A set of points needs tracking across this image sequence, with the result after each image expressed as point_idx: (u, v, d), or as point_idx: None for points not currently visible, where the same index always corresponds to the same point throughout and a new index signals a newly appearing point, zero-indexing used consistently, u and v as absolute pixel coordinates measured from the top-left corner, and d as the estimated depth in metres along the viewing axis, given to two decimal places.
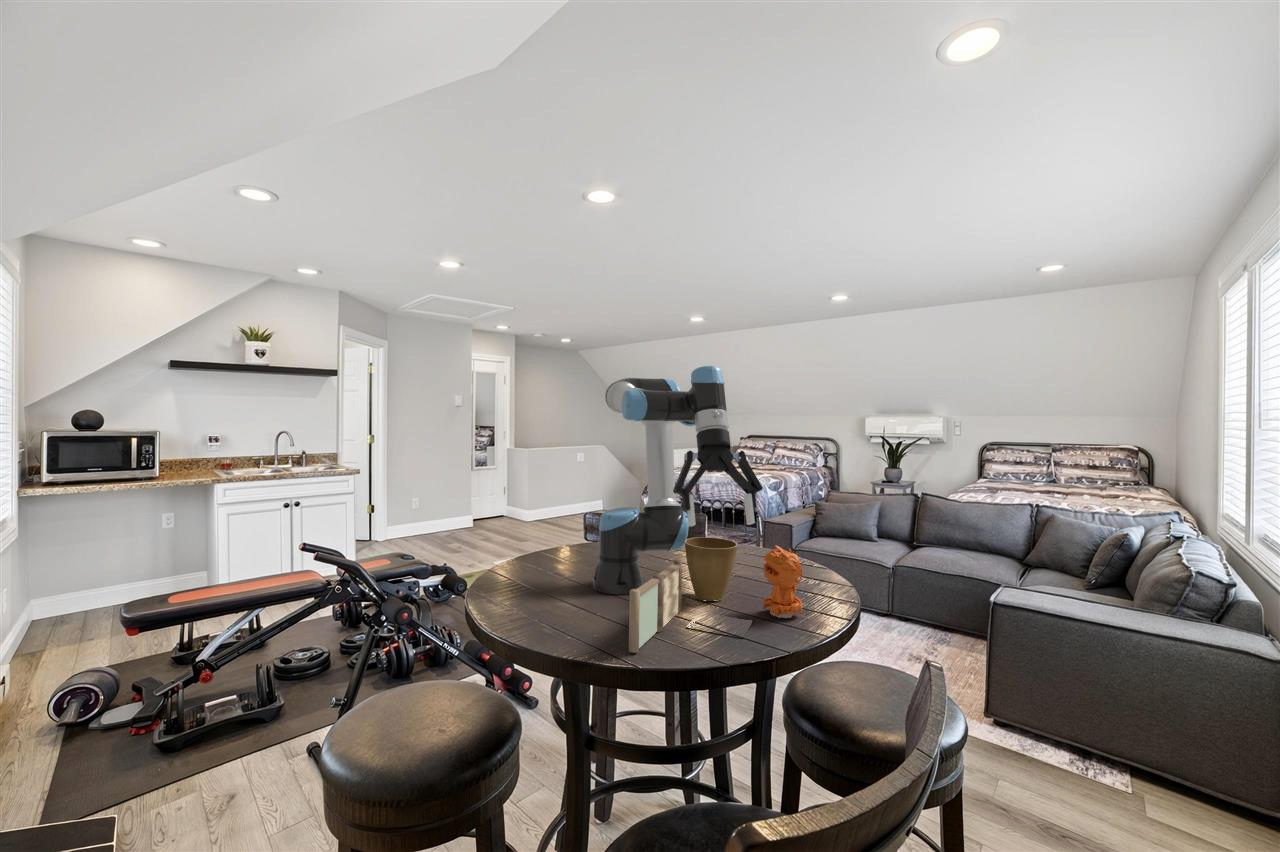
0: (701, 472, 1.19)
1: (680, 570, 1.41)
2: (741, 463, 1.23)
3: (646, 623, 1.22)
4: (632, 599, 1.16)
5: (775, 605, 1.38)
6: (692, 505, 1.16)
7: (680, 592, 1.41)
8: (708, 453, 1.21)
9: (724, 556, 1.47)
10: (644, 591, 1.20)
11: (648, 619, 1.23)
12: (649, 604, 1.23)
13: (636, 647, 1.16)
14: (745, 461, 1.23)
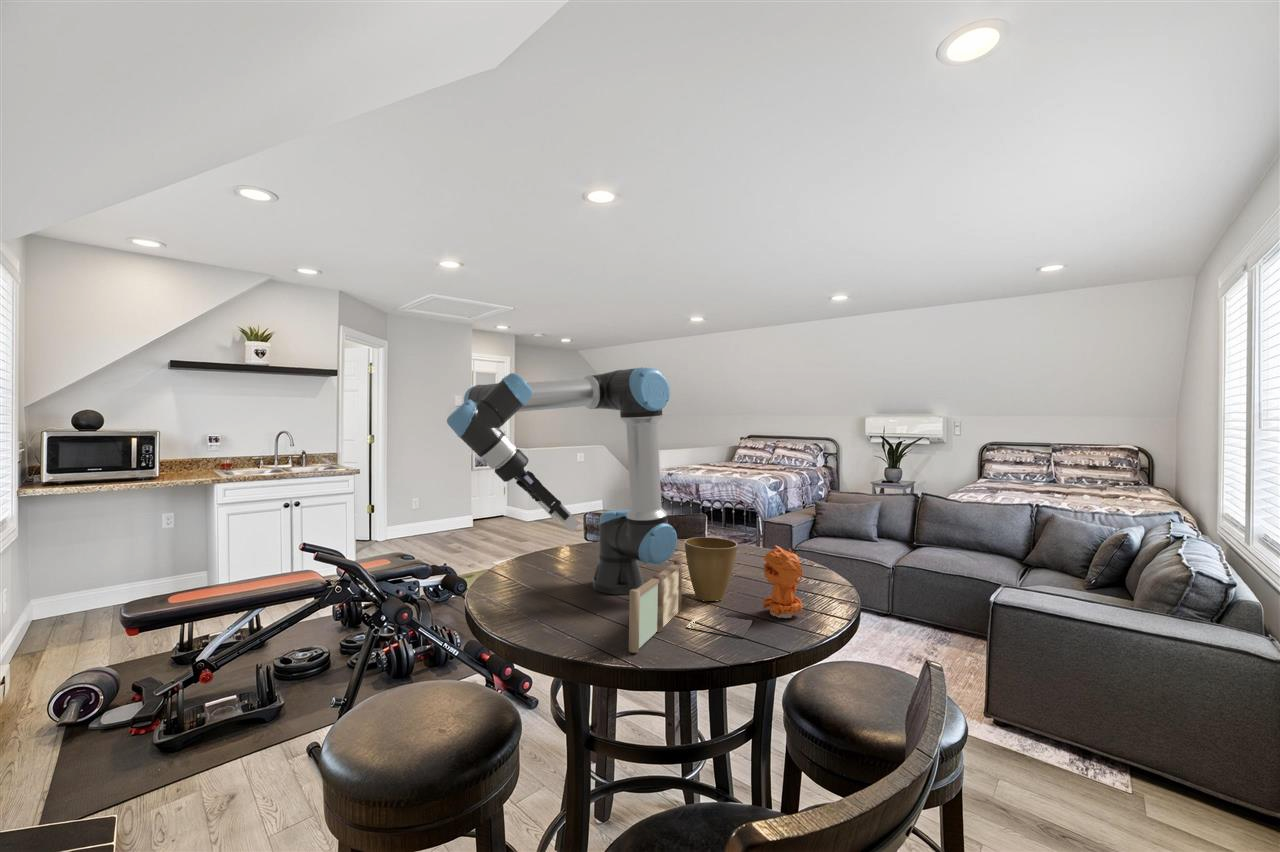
0: None
1: (680, 570, 1.41)
2: None
3: (646, 623, 1.22)
4: (632, 599, 1.16)
5: (775, 605, 1.38)
6: (544, 509, 1.34)
7: (680, 592, 1.41)
8: None
9: (724, 556, 1.47)
10: (644, 591, 1.20)
11: (648, 619, 1.23)
12: (649, 604, 1.23)
13: (636, 647, 1.16)
14: (530, 488, 1.19)
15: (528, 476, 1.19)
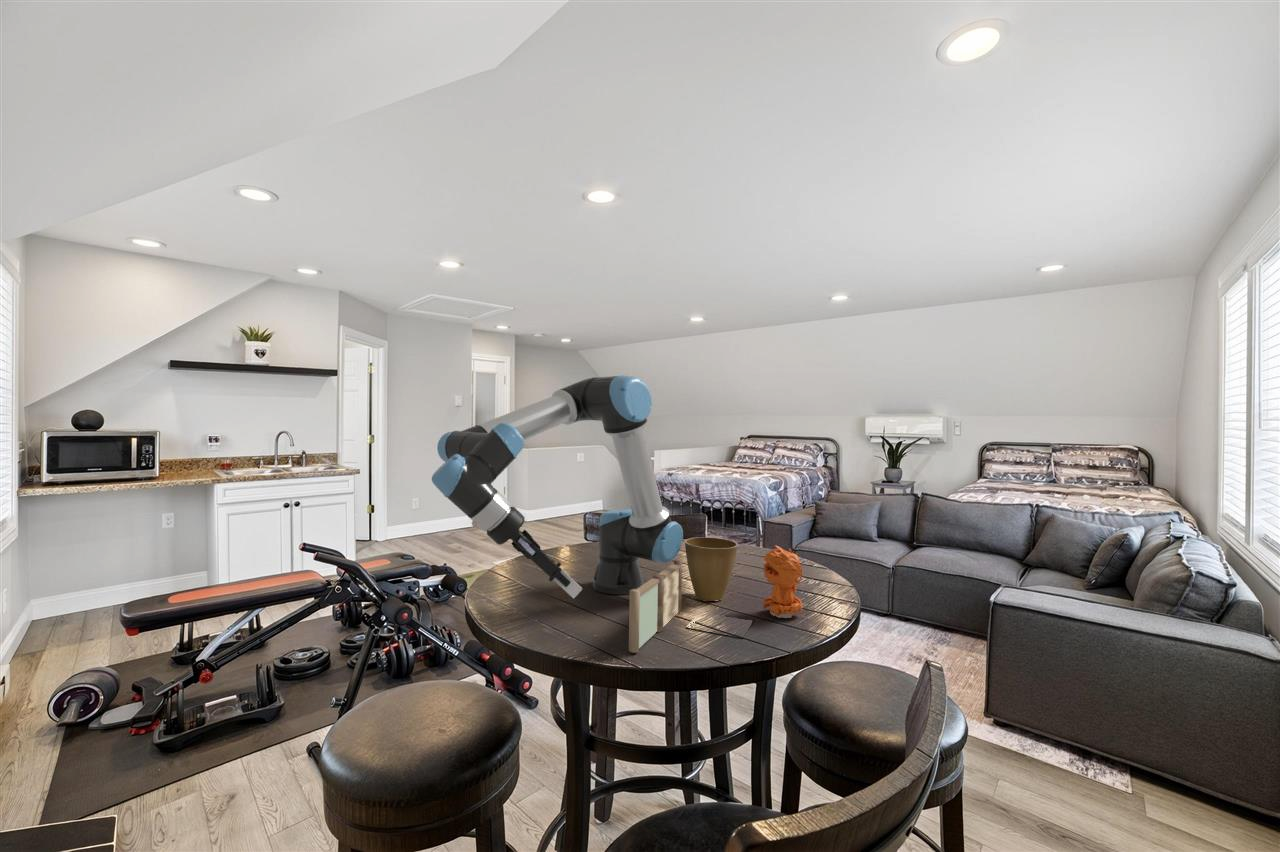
0: None
1: (680, 570, 1.41)
2: None
3: (646, 623, 1.22)
4: (632, 599, 1.16)
5: (775, 605, 1.38)
6: None
7: (680, 592, 1.41)
8: None
9: (725, 556, 1.47)
10: (644, 591, 1.20)
11: (648, 619, 1.23)
12: (649, 604, 1.23)
13: (636, 647, 1.16)
14: None
15: (531, 549, 1.06)
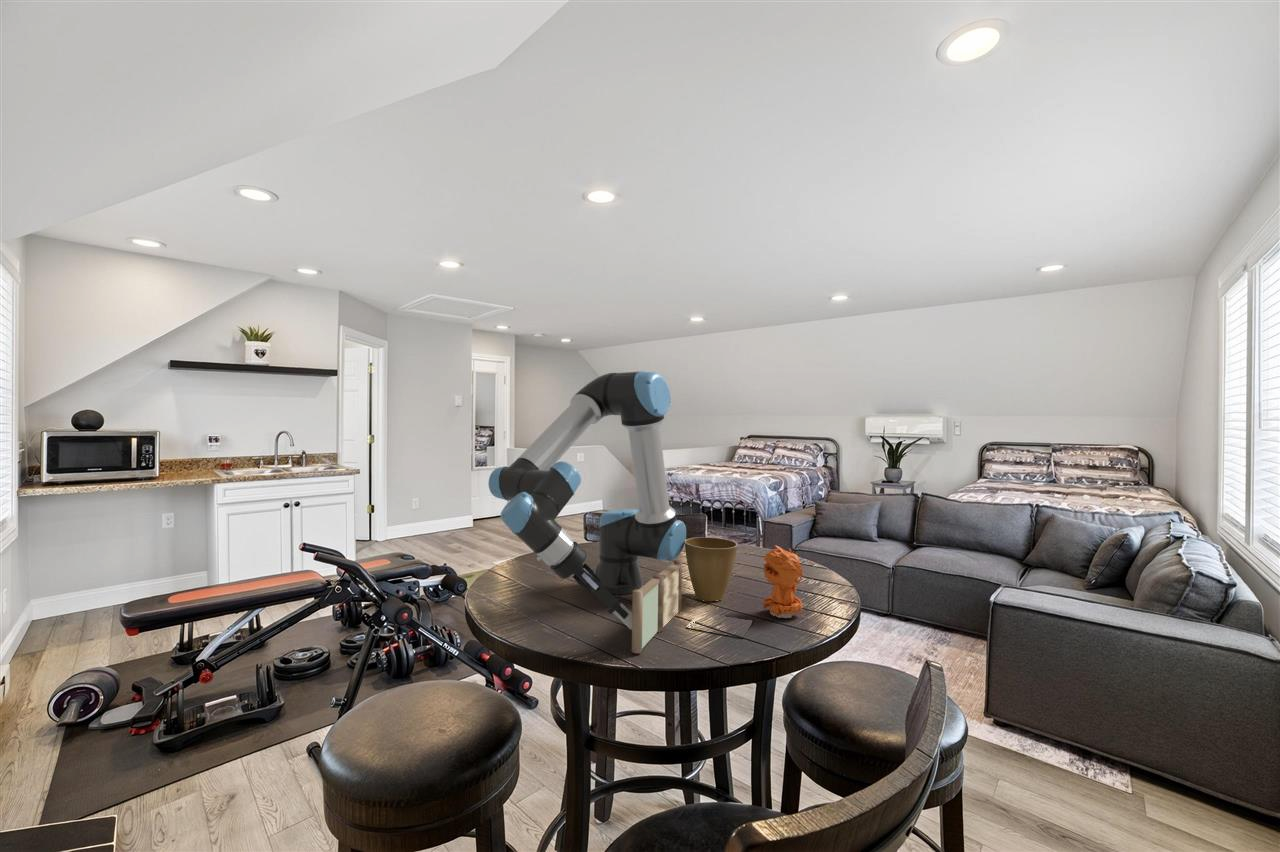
0: None
1: (680, 570, 1.41)
2: None
3: (648, 623, 1.22)
4: (635, 600, 1.16)
5: (775, 605, 1.38)
6: None
7: (680, 592, 1.41)
8: None
9: (725, 556, 1.47)
10: (646, 591, 1.19)
11: (650, 619, 1.23)
12: (650, 604, 1.23)
13: (639, 648, 1.16)
14: None
15: (595, 584, 1.11)
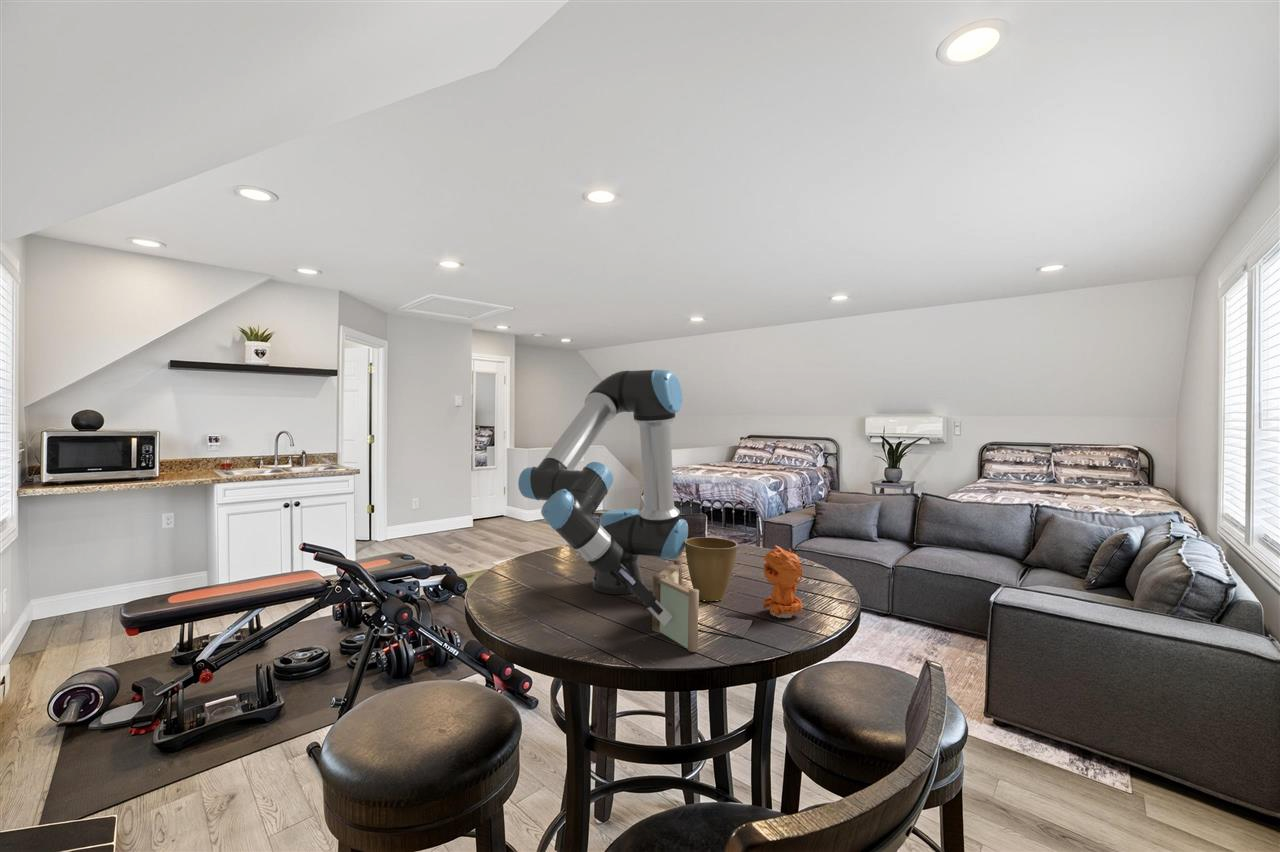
0: None
1: (680, 570, 1.41)
2: None
3: None
4: (696, 599, 1.17)
5: (775, 605, 1.38)
6: (651, 612, 1.22)
7: None
8: None
9: (725, 556, 1.47)
10: None
11: None
12: None
13: (697, 645, 1.18)
14: (630, 588, 1.15)
15: (633, 579, 1.13)
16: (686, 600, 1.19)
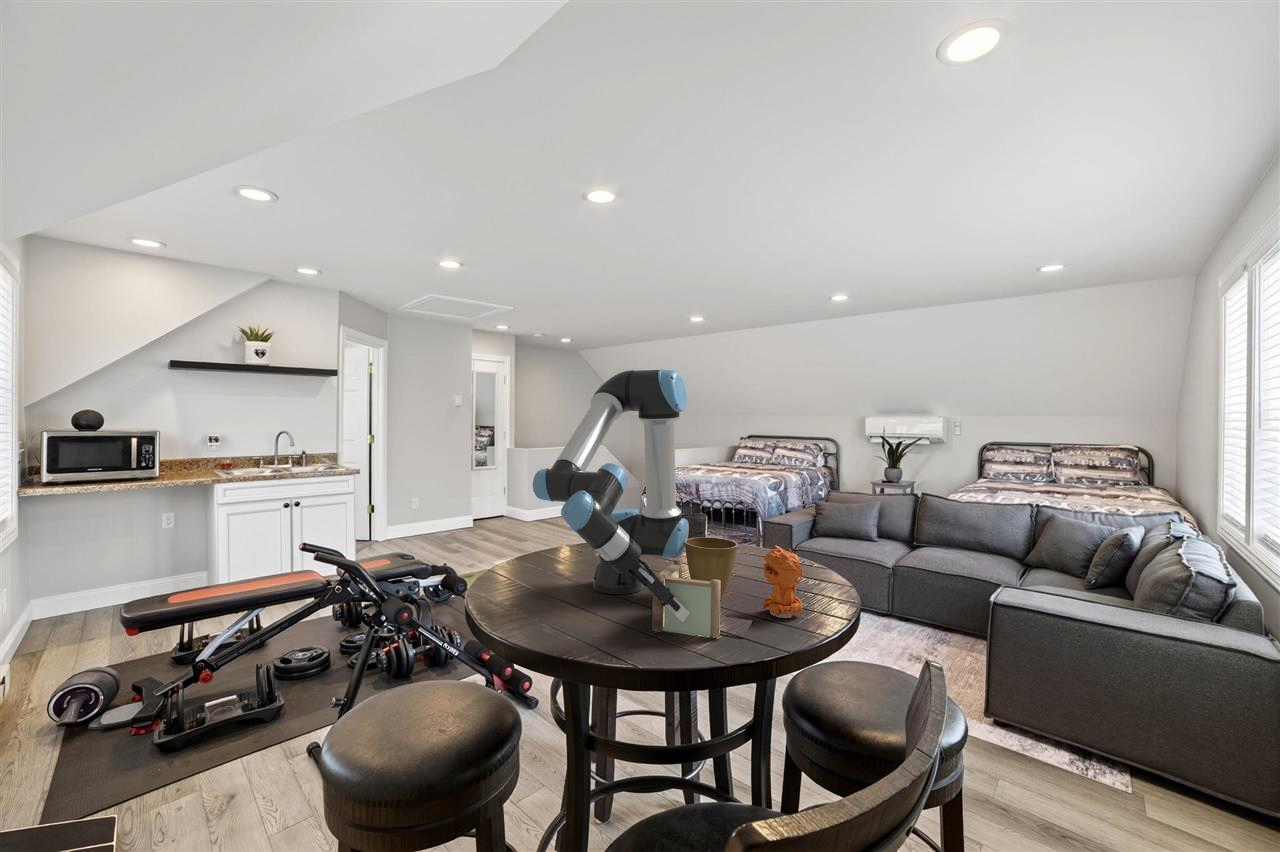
0: None
1: (680, 570, 1.41)
2: None
3: None
4: (720, 588, 1.25)
5: (775, 605, 1.38)
6: None
7: None
8: None
9: (725, 556, 1.47)
10: None
11: None
12: None
13: None
14: (650, 586, 1.17)
15: (652, 577, 1.16)
16: (707, 591, 1.25)
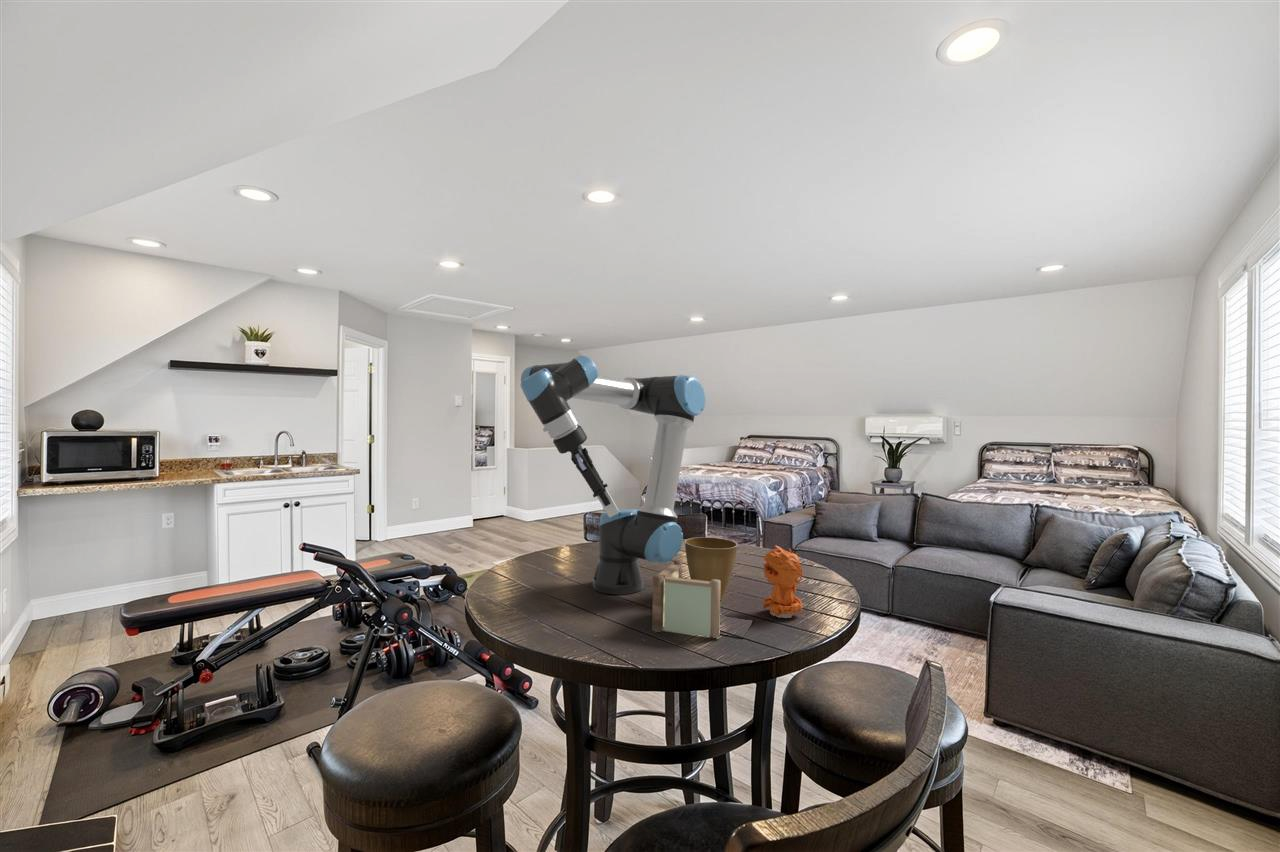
0: None
1: (680, 570, 1.41)
2: None
3: None
4: (720, 588, 1.25)
5: (775, 605, 1.38)
6: None
7: None
8: None
9: (725, 556, 1.47)
10: None
11: None
12: None
13: None
14: (581, 473, 1.25)
15: (583, 465, 1.23)
16: (707, 591, 1.25)
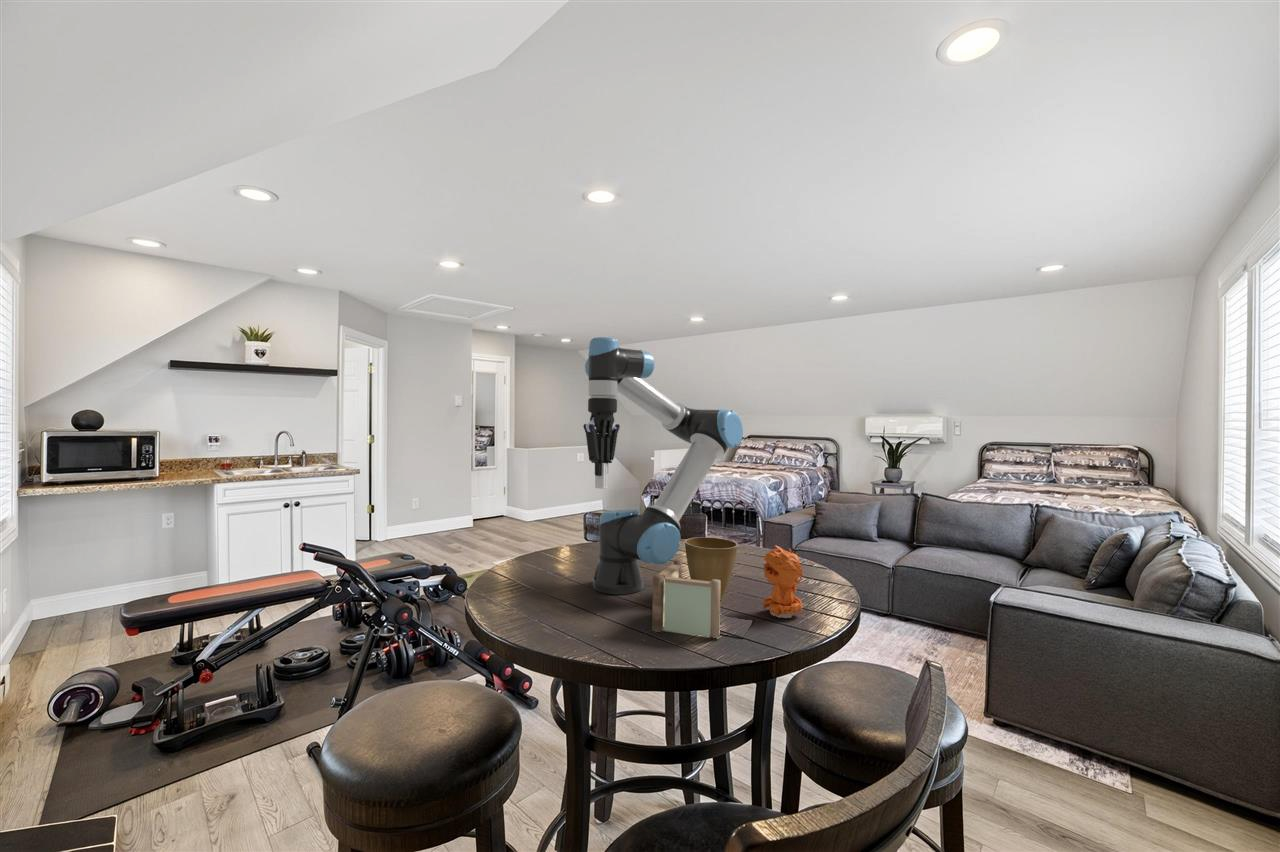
0: None
1: (680, 570, 1.41)
2: None
3: None
4: (720, 588, 1.25)
5: (775, 605, 1.38)
6: None
7: None
8: None
9: (725, 556, 1.47)
10: None
11: None
12: None
13: None
14: None
15: (588, 427, 1.36)
16: (707, 591, 1.25)
